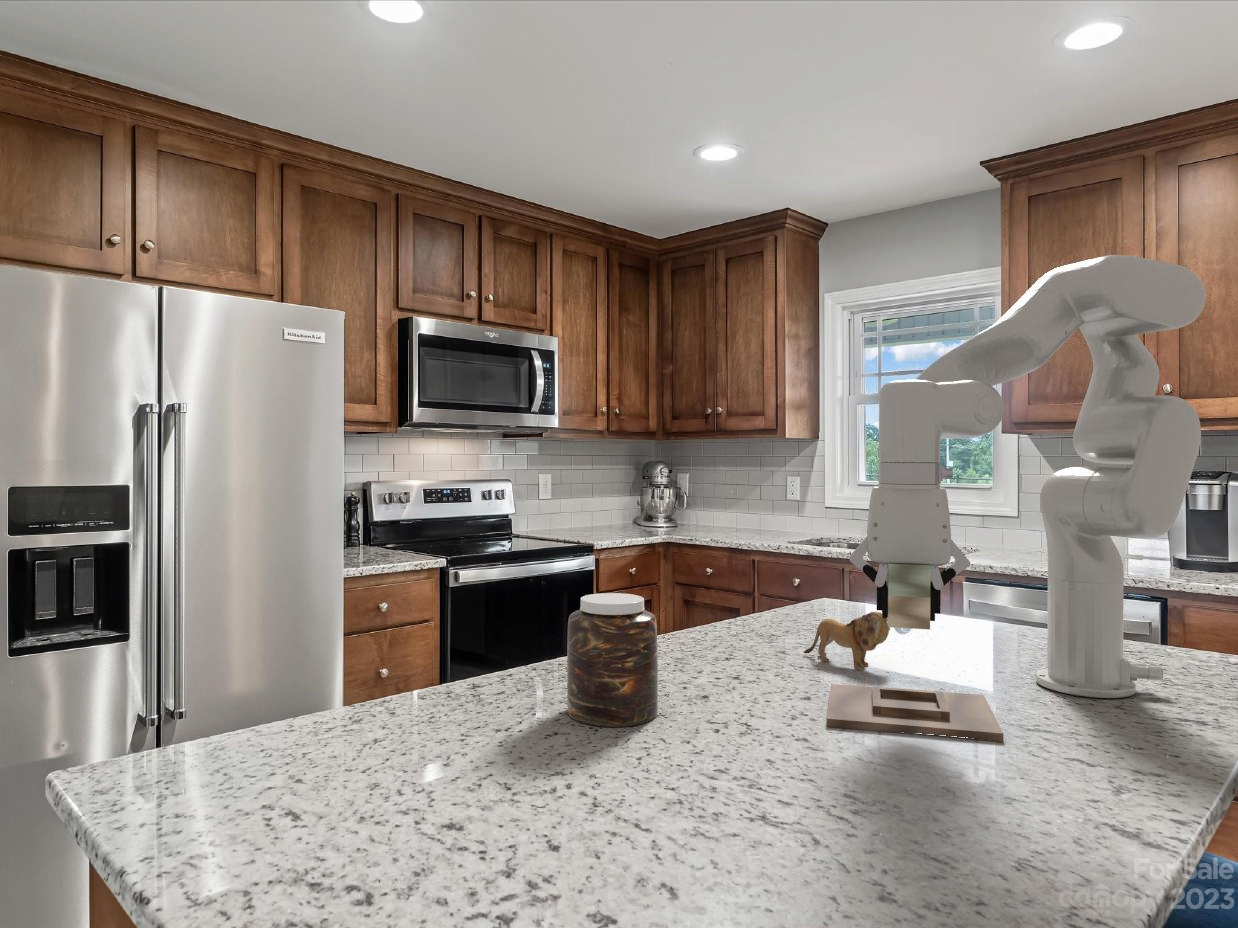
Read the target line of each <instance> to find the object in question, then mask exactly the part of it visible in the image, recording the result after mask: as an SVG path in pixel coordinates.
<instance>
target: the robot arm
mask: <svg viewBox="0 0 1238 928" xmlns="http://www.w3.org/2000/svg"><path fill="white" fill-rule="evenodd" d="M1205 304H1206V289H1205V287H1204V284H1203V282H1202V280H1201V279H1200V277H1199V276H1198V275H1197V274H1196V272H1194V271H1192V270H1191V269H1190V268H1188V267H1186V266H1183V265H1180V264H1175V263H1170V262H1166V261H1165V262H1164V261H1161V260H1154V259H1149V258H1145V257H1141V256H1140V257H1139V256H1134V255H1127V254H1126V255H1125V254H1110V255H1104V256H1100V257H1095V258H1091V259H1087V260H1082V261H1079V262H1074V263H1069V264H1066V265H1063V266H1060V267H1056V268H1054V269H1052V270H1050V271H1048V272H1047V273H1045V274H1044V275H1043V276H1041V277H1040V278H1038V280H1036V282H1035V283H1034V284H1033V285H1032V286H1031V287H1030V288H1029V289H1028V290H1027V291H1026V292H1025V293H1023V295H1021V297H1020V298H1019V299H1018V300H1017V301H1016V302H1015V303H1014V304H1013V305H1012V306H1011V307H1010V308H1009V309H1008V310H1007V311H1006V312H1005V313H1004V314H1003V315H1002V316H1001V317H1000V318H999V319H998V320H997V321H996V322H994V323H993V325H991V326H989V327H988V328H986V329H984V330H982V331H981V332H979V333H977V334H975V335H974V336H972V337H971V338H969V339H968V340H966V341H965V342H963V343H962V344H959V345H958V346H956V347H955V348H953V349H951V350H949V351H948V352H946V353H944V355H942V356H940V357H939V358H938V359H935V361H933V362H932V363H931V364H930V365H929V366H927V367H926V368H925V369H924V370H923V371H922V372H921V373H920V374H919V375H918V376H917V377H916V378H915V379H906V380H903V379H901V380H893V381H889V382H887V383H884V384H883V385H882V387H881V388H880V391H879V398H878V400H879V401H878V410H879V411H878V412H879V413H878V486H872V488H871V492H870V498H869V505H868V515H867V516H868V517H867V519H868V520H867V531H866V534H867V536H866V537H865V538H864V539H863V540H862V541H861V542H860V544H859V545H858V546H857V547H856V548H855V549H854V550H853V552H852V553H851V554H850V555H849V562H850V563H851V564H853V565H854V566H855V567H856V568H857V569H859V570H861V571H860V572H863V574H865V576H866V577H867V578H868V579H870V580H871V582H873V583H874V585H875V586H876V611H881V613H882V618H887V617H888V586H887V574H888V563H891V564H917V565H930V566H931V575H930V622H936V614H941V597H942V595H941V593H942V592H941V590H943V588H944V587H945V586H946V584H948V583H949V582H950V581H951V580H953V579H954V578H955V577H956V576H957V575H959V574H960V573H961V572H963V571H965V570H966V569H967V568H969V566H971V561H970V560H969V559H968V558H967V556H966V555H965V554H964V553H963V551H961V549H960V548H959V547H958V546H957V544H956V543H955V541H953V539H952V530H951V529H952V528H951V515H950V509H949V499H948V495H947V494H948V493H947V489H946V487H941V484H942V481H945V480H947V479H953V475H954V474H953V472H954V471H953V468H947V467H945V466H944V465H942V462H941V439H951V440H952V439H953V440H955V439H956V440H957V439H972V438H973V439H974V438H980V437H983V436H986V435H987V434H989V433H992V432H993V431H994V430H995V429H996V428H997V427H998V426H999V425H1000V424H1001V422H1002V419H1003V416H1004V412H1005V404H1004V400H1003V398H1002V396H1001V394H1000V392H999V391H998V390H997V389H996V388H995V387H994V386H997V385H999V384H1003V383H1006V382H1010V381H1013V380H1015V379H1018V378H1020V377H1023V376H1026V375H1028V374H1030V373H1032V372H1035V371H1036V370H1038V369H1040V368H1041V367H1043V366H1044V365H1045V364H1046V363H1047V362H1048V361H1049V359H1050V358H1051V357H1052V356H1053V355H1055V353H1056V352H1057V351H1058V350H1059V349H1060V348H1061V347H1062V346H1063V345H1064V344H1065V343H1066V342H1067V341H1068V339H1070V338H1071V336H1072V335H1073V334H1074V333H1075V332H1076V331H1077V330H1079V331H1080V332H1081V334H1082V336H1083V338H1084V340H1085V342H1086V344H1087V346H1088V349H1089V351H1090V356H1091V358H1092V359H1091V360H1092V366H1093V367H1092V368H1093V369H1092V373H1091V377H1090V381H1089V384H1088V386H1087V387H1088V388H1087V391H1086V393H1085V395H1084V396H1085V397H1084V399H1083V402H1082V406H1081V408H1080V411H1079V414H1078V417H1077V420H1076V423H1075V427H1074V430H1073V431H1074V432H1073V435H1072V446H1073V449H1074V451H1075V453H1076V454H1077V456H1079V457H1080V458H1081V459H1083V460H1085V461H1088V462H1091V463H1097V464H1106V465H1132V466H1131V467H1111V466H1073V467H1067V468H1063V469H1060V470H1058V471H1056V472H1054V473H1052V474H1050V475H1049V476H1048V478H1046V480H1045V482H1043V484H1042V487H1041V490H1040V495H1039V503H1040V510H1041V516H1042V521H1043V524H1044V529H1045V536H1046V546H1047V547H1046V549H1047V639H1046V640H1047V642H1046V644H1047V653H1046V654H1047V663H1046V665H1047V667H1046V668H1042V669H1039V670H1038V671H1036V672H1035V682H1036V683H1037V684H1039V685H1040V686H1041V687H1044V688H1046V689H1049V690H1051V691H1055V692H1059V693H1063V694H1068V695H1071V696H1072V695H1073V696H1077V697H1085V698H1086V697H1087V698H1097V699H1118V698H1120V699H1121V698H1127V697H1131V696H1133V695H1134V694H1136V693H1137V684H1136V683H1135V682H1137V680H1138V679H1144V680H1150V681H1160V682H1161V681H1163V679H1164V671H1163V668H1162V666H1160V665H1159V666H1158V665H1147V664H1146V663H1141V662H1139V663H1138V662H1131V661H1130V660H1129V659H1127V658H1126V657H1125V656H1124V587H1125V586H1124V581H1125V579H1124V578H1125V577H1124V575H1125V572H1124V570H1125V569H1124V562H1123V560H1122V556H1121V554H1120V552H1119V550H1118V548H1117V546H1116V544H1115V542H1114V541H1113V539H1112V537H1119V538H1127V539H1128V538H1129V539H1144V540H1145V539H1148V540H1149V539H1155V538H1156V539H1157V538H1159V537H1161V536H1163V535H1165V534H1166V533H1167V532H1169V530H1171V528H1172V527H1173V526H1174V524H1175V523H1176V520H1177V518H1178V516H1179V514H1180V510H1181V507H1182V505H1183V502H1184V500H1185V499H1184V498H1185V496H1186V493H1187V489H1188V486H1189V483H1190V480H1191V477H1192V474H1193V471H1194V467H1195V464H1196V460H1197V457H1198V455H1199V454H1198V453H1199V450H1200V446H1201V445H1200V444H1201V440H1202V428H1201V421H1200V417H1199V414H1198V413H1197V411H1196V409H1195V408H1194V406H1193V405H1192V404H1191V403H1189V402H1188V401H1187V400H1185V399H1183V398H1181V397H1178V396H1175V395H1156V392H1157V389H1158V385H1159V380H1160V368H1159V366H1158V364H1157V361H1156V359H1155V357H1154V355H1152V353H1151V352H1150V351H1149V350H1148V349H1147V347H1146V345H1145V344H1144V343H1143V342H1142V341H1141V338H1139V336H1138V335H1142V334H1149V333H1150V334H1151V333H1157V332H1163V331H1164V332H1165V331H1171V330H1177V329H1181V328H1183V327H1186V326H1188V325H1190V324H1192V323H1194V321H1196V320H1197V318H1198V317H1199V316H1200V315H1201V313H1202V312H1203V309H1204V307H1205ZM866 554H867V555H868V558H869V560H870V561H872V562H873V563H876V564H878V566H877V569H876V568H874V567H873V566H872V565H871V564H870V563H868V562H867V561H866V560H865V559H864V556H865V555H866ZM951 558H953V559H954V562H953V563H952V564H951V565H949V566H947V567H945V569H943V570H942V571H940V569H939V567H941V566H946V565H947V564H948V563H950V561H951Z"/></svg>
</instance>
